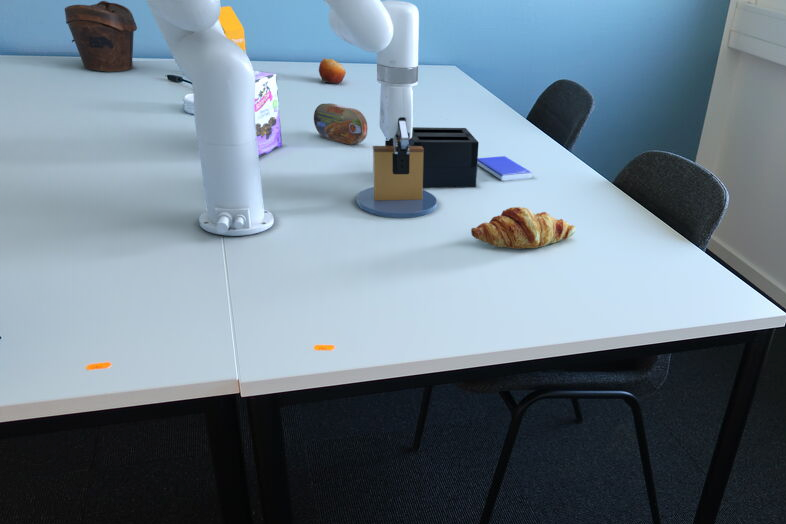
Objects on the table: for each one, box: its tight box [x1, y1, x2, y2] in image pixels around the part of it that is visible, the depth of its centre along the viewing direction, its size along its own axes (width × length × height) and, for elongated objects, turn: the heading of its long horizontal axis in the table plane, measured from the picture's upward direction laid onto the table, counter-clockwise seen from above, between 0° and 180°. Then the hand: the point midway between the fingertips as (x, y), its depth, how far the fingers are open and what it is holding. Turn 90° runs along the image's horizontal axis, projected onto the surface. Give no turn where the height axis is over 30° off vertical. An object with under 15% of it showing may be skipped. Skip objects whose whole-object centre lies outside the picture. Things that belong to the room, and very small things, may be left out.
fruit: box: [318, 58, 346, 85], centre depth 233 cm, size 8×8×8 cm
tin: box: [313, 102, 368, 146], centre depth 182 cm, size 15×3×8 cm, turn 62°
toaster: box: [408, 126, 479, 189], centre depth 165 cm, size 11×15×10 cm
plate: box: [356, 186, 438, 219], centre depth 152 cm, size 16×16×1 cm
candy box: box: [254, 70, 283, 158], centre depth 167 cm, size 14×6×16 cm, turn 168°
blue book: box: [477, 155, 533, 182], centre depth 177 cm, size 2×8×12 cm
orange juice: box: [218, 5, 247, 54], centre depth 219 cm, size 8×9×20 cm
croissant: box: [470, 206, 577, 250], centre depth 141 cm, size 21×10×8 cm, turn 114°
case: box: [64, 0, 138, 72], centre depth 217 cm, size 18×20×18 cm
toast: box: [372, 145, 424, 200], centre depth 149 cm, size 2×10×10 cm, turn 110°
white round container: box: [182, 92, 194, 115], centre depth 193 cm, size 10×10×4 cm
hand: (397, 166), depth 149 cm, fingers open, 7 cm apart
